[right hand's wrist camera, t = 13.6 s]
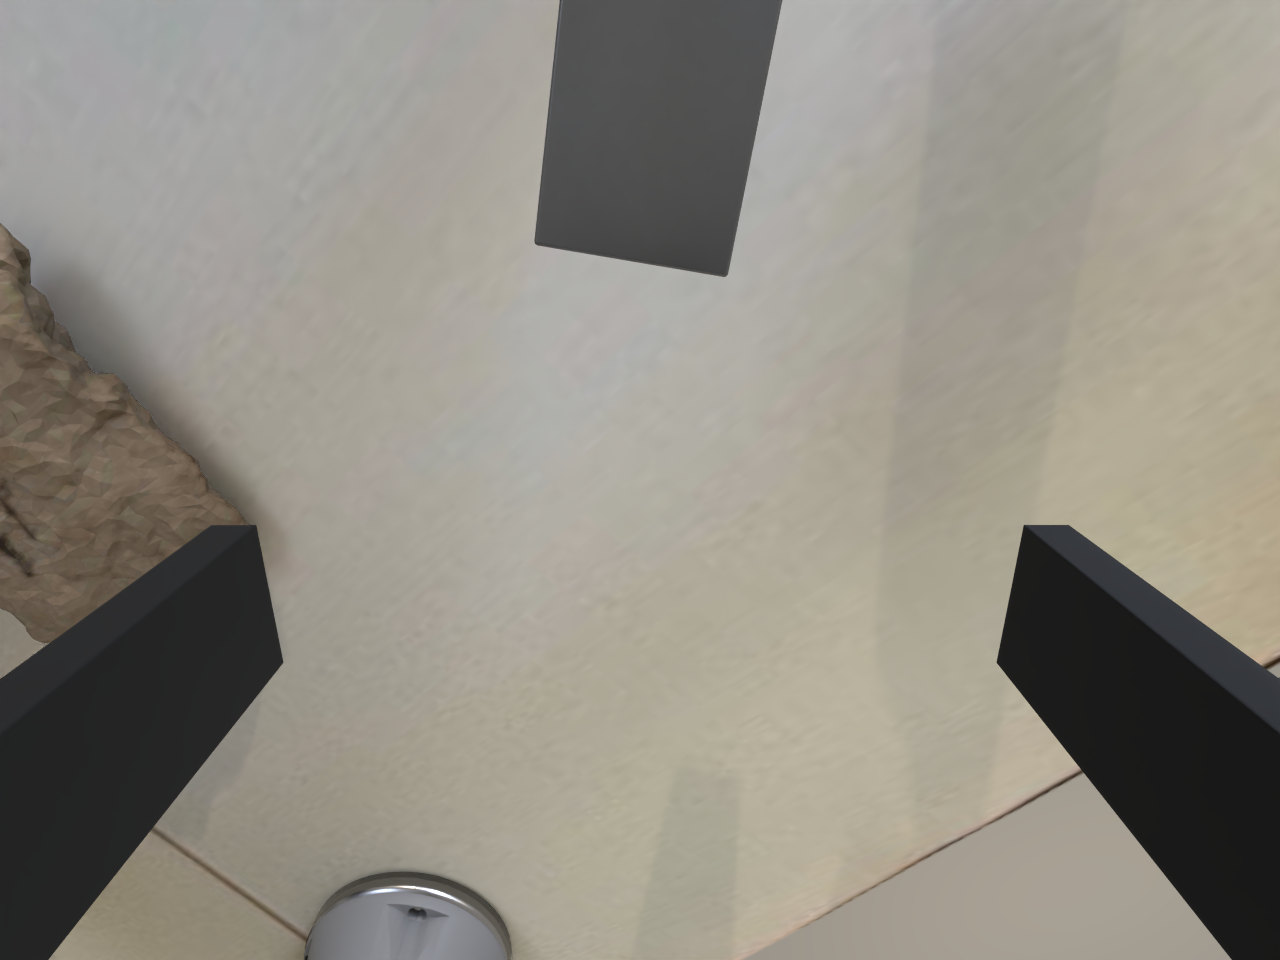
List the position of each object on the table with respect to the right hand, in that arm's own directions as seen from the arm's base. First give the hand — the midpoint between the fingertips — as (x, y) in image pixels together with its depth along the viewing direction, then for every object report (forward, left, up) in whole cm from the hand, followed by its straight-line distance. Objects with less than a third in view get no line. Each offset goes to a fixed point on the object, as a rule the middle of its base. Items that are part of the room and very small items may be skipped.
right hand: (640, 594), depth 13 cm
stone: (-32, +11, -30) cm, 45 cm away
